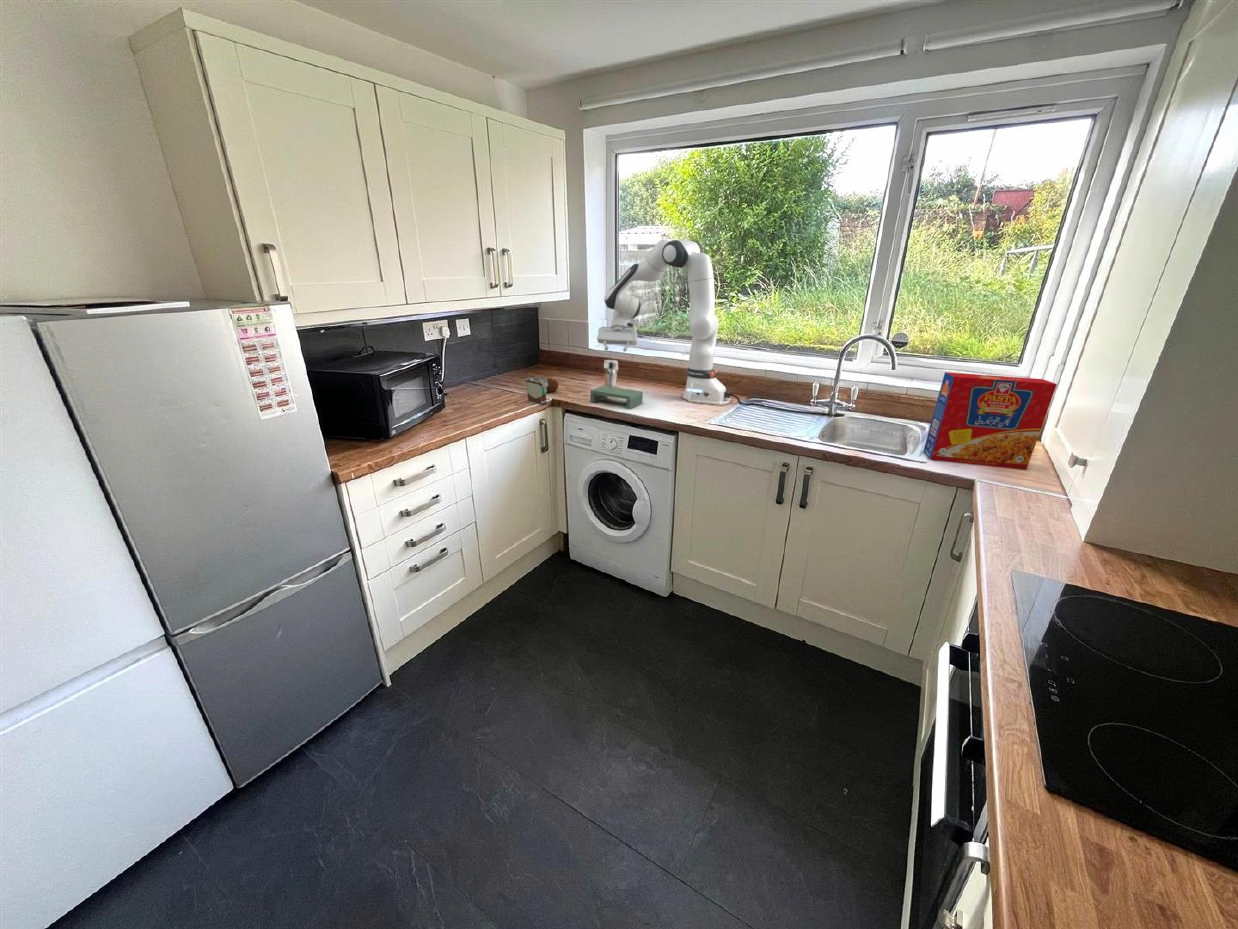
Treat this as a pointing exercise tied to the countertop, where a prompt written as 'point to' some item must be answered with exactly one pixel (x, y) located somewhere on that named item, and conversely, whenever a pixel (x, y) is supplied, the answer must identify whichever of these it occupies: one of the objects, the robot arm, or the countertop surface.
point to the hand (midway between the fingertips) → (615, 350)
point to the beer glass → (610, 372)
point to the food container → (536, 390)
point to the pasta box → (988, 419)
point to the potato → (552, 385)
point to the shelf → (617, 395)
